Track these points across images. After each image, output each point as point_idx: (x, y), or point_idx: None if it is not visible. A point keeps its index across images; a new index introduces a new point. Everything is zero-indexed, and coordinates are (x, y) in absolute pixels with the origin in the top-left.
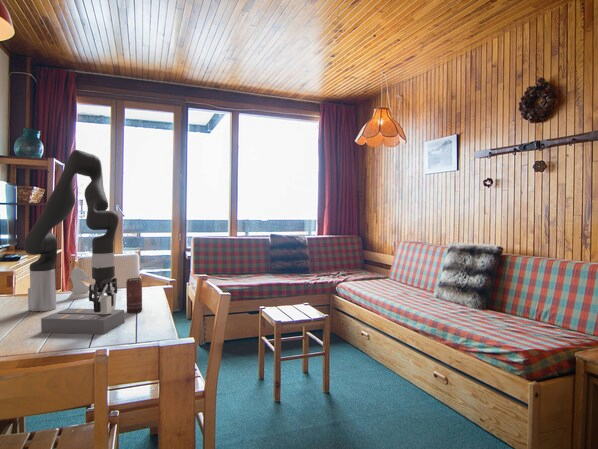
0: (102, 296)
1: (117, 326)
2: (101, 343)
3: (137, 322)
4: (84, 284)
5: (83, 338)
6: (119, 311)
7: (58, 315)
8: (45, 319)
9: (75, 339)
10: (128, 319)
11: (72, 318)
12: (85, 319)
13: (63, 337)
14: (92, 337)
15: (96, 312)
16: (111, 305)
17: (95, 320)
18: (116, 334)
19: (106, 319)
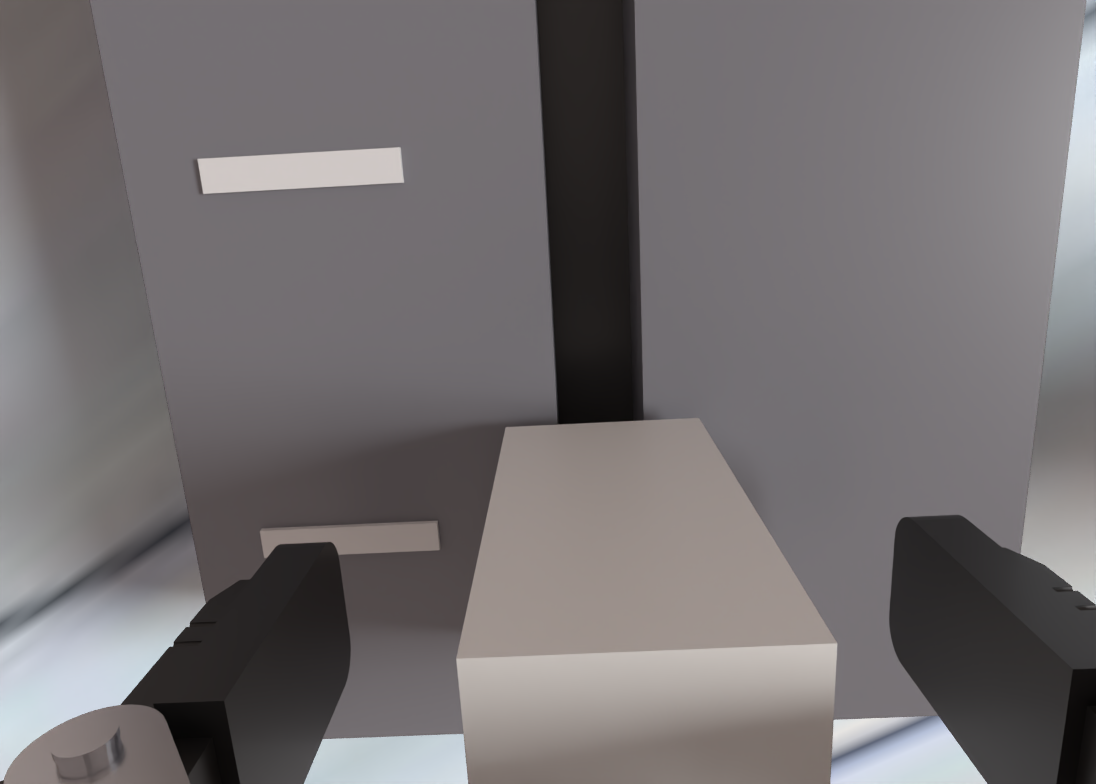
0: (708, 778)
1: None
2: (7, 762)
3: (901, 738)
4: None
5: (91, 442)
6: (854, 696)
7: None
8: None
9: (21, 360)
10: (1069, 540)
11: (157, 33)
12: (169, 394)
13: (35, 109)
14: (162, 533)
15: (502, 442)
16: (898, 628)
17: (212, 590)
18: (347, 748)
19: (330, 728)
